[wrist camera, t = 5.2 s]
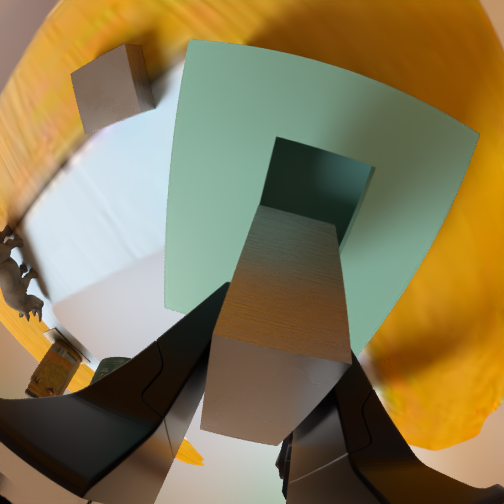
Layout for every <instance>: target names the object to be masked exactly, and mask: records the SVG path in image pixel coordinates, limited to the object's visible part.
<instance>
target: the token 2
mask: <svg viewBox="0 0 504 504" xmlns="http://www.w3.org/2000/svg"><path fill="white" fill-rule="evenodd" d="M351 365H352V358H351V345H350V333H349V323H348V313H347V304H346V296H345V288H344V280H343V273H342V266H341V259H340V253H339V246H338V240H337V234H336V229H335V225H334V224H330V223H326V222H323V221H319V220H316V219H312V218H308V217H305V216H301V215H297V214H293V213H289V212H286V211H282V210H278V209H274V208H270V207H266V206H262V205H258V207H257V210H256V213H255V216H254V218H253V221H252V224H251V227H250V229H249V232H248V235H247V238H246V241H245V243H244V246H243V249H242V252H241V255H240V257H239V260H238V263H237V266H236V269H235V271H234V274H233V277H232V280H231V283H230V286H229V288H228V291H227V294H226V297H225V300H224V303H223V305H222V308H221V311H220V314H219V317H218V320H217V323H216V325H215V328H214V331H213V335H212V342H211V349H210V356H209V363H208V370H207V378H206V385H205V393H204V401H203V410H202V417H201V425H200V429H202V430H205V431H209V432H213V433H216V434H221V435H225V436H229V437H233V438H237V439H242V440H247V441H252V442H257V443H262V444H268V445H274V446H278V444H280V443H281V442H282V441H283V440H284V439H285V438H286V437H287V436H288V435H289V434H290V433H291V432H292V431H293V430H294V429H295V428H296V427H297V426H298V425H299V424H300V423H301V422H302V421H303V420H304V419H305V418H306V417H307V416H308V415H309V413H310V412H311V411H312V410H313V409H314V408H315V407H316V406H317V405H318V404H319V403H320V401H321V400H322V399H323V398H324V397H325V396H326V395H327V394H328V392H329V391H330V390H331V389H332V388H333V387H334V385H335V384H336V383H337V382H338V381H339V379H340V378H341V377H342V376H343V375H344V373H345V372H346V371H347V370H348V368H349V367H350V366H351Z"/></svg>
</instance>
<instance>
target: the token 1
mask: <svg viewBox="0 0 504 504" xmlns="http://www.w3.org/2000/svg"><path fill="white" fill-rule="evenodd" d="M71 79H72V84H73V88H74V93H75V97H76V101H77V105H78V109H79V113H80V117H81V120H82V124H83V127H84V131H85V134H86V135H87V134H89V133H92V132H95V131H97V130H100V129H103V128H105V127H107V126H110V125H112V124H115V123H117V122H120V121H122V120H125V119H128V118H130V117H133V116H136V115H138V114H141V113H144V112H147V111H150V110H153V109H156V107H155V104H154V100H153V96H152V91H151V87H150V83H149V79H148V75H147V70H146V66H145V61H144V57H143V52H142V48H141V45H132V44H123V45H121V46H119V47H117V48H115V49H113V50H111V51H109V52H107V53H105V54H104V55H102V56H100V57H98V58H96V59H94V60H93V61H91V62H89V63H88V64H86V65H84V66H83V67H81V68H79V69H78V70H76V71H74V72H73V73H71Z"/></svg>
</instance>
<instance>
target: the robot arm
mask: <svg viewBox="0 0 504 504" xmlns="http://www.w3.org/2000/svg"><path fill="white" fill-rule="evenodd" d="M230 283H231V282H225V283H224V284H223V285H222V286H220V287H219V288H218V289H217V290H216V291H214V292H213V293H212V294H211V295H210V296H208V297H207V298H206V299H205V300H204V301H202V302H201V303H200V304H199V305H198V306H196V307H195V308H194V309H193V310H192V311H190V312H189V313H188V314H187V315H186V316H184V317H183V318H182V319H181V320H180V321H178V322H177V323H176V324H175V325H173V326H172V327H171V328H170V329H169V330H167V331H166V332H165V333H164V334H163V335H161V336H160V337H159V338H158V339H157V341H154V342H153V343H151V344H150V345H149V346H148V347H147V348H145V349H144V350H143V351H141V352H140V353H139V354H138V355H136V356H135V357H134V358H132V359H131V360H129V361H127V362H126V363H124V364H123V365H121V366H120V367H118V368H117V369H115V370H113V371H112V372H110V373H109V374H107V375H105V376H104V377H102V378H100V379H99V380H97V381H95V382H94V383H92V384H90V385H89V386H87V387H85V388H84V389H81V390H79V391H77V392H74V393H71V394H67V395H60V396H50V397H39V398H27V399H3V398H0V504H154V502H155V500H156V498H157V495H158V493H159V491H160V489H161V487H162V485H163V483H164V480H165V478H166V476H167V473H168V471H169V469H170V467H171V465H172V463H173V460H174V458H175V456H176V454H177V452H178V450H179V447H180V445H181V443H182V441H183V438H184V436H185V434H186V431H187V430H188V427H189V425H190V423H191V420H192V418H193V416H194V414H195V412H196V409H197V407H198V405H199V402H200V400H201V398H202V396H203V393H204V391H205V385H206V378H207V370H208V363H209V356H210V349H211V342H212V335H213V331H214V328H215V325H216V323H217V320H218V317H219V314H220V311H221V308H222V305H223V303H224V300H225V297H226V294H227V291H228V288H229V286H230ZM351 358H352V365H351V366H350V367H349V368H348V370H347V371H346V372H345V373H344V375H343V376H342V377H341V378H340V379H339V381H338V382H337V383H336V384H335V385H334V387H333V388H332V389H331V390H330V391H329V392H328V394H327V395H326V396H325V397H324V398H323V399H322V400H321V401H320V403H319V404H318V405H317V406H316V407H315V408H314V409H313V410H312V411H311V412H310V413H309V415H308V416H307V417H306V418H305V419H304V420H303V421H302V422H301V423H300V424H299V425H298V426H297V427H296V428H295V429H294V430H293V431H292V432H291V433H290V434H289V435H288V436H287V437H286V438H285V439H284V440H283V443H282V447H281V451H280V453H279V456H278V458H277V461H276V464H275V465H276V467H277V468H278V469H279V476H280V478H281V479H283V488H282V493H283V495H284V497H285V499H286V504H504V487H502V486H500V485H499V484H496V485H493V486H491V487H488V488H475V487H472V486H469V485H467V484H465V483H462V482H460V481H458V480H455V479H453V478H451V477H449V476H447V475H445V474H442V473H440V472H438V471H436V470H434V469H432V468H430V467H428V466H426V465H425V464H424V463H422V462H421V461H420V460H419V459H418V458H417V457H416V456H415V454H414V453H413V451H412V450H411V449H410V447H409V445H408V444H407V442H406V441H405V439H404V438H403V436H402V435H401V433H400V432H399V430H398V429H397V427H396V426H395V424H394V423H393V421H392V420H391V418H390V417H389V415H388V413H387V412H386V410H385V408H384V407H383V405H382V403H381V401H380V400H379V398H378V396H377V394H376V392H375V390H374V389H373V387H372V385H371V383H370V381H369V380H368V378H367V376H366V374H365V372H364V370H363V369H362V367H361V365H360V363H359V361H358V360H357V358H356V356H355V354H354V352H353V351H352V349H351ZM372 389H373V390H372Z"/></svg>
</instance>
